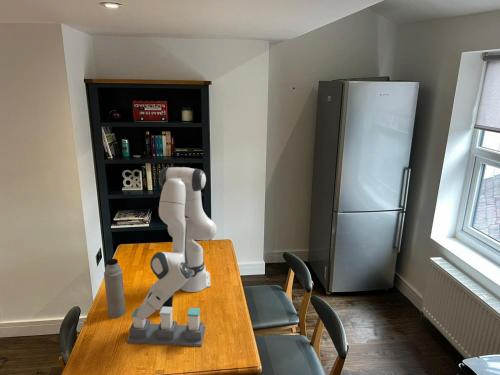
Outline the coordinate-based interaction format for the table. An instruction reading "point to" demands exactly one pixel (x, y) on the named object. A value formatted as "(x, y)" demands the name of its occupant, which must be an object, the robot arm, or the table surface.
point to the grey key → (166, 318)
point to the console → (166, 335)
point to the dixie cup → (168, 302)
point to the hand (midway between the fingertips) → (138, 310)
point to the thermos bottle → (114, 289)
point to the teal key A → (138, 320)
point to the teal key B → (194, 319)
